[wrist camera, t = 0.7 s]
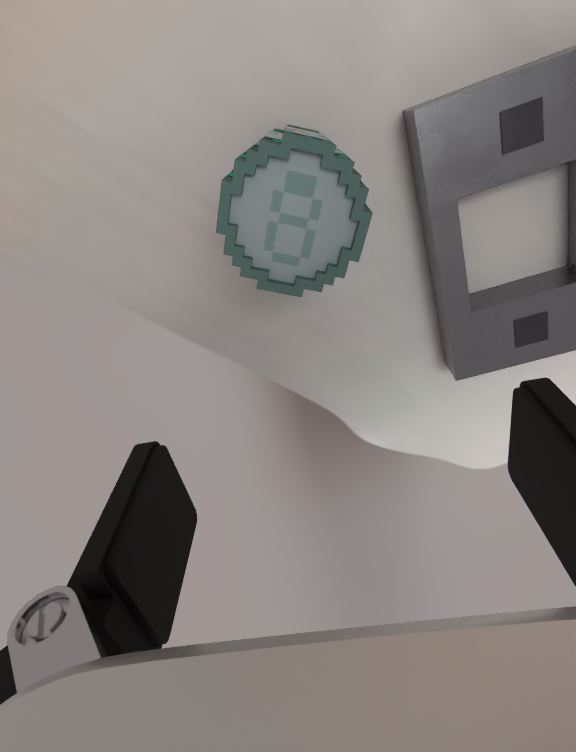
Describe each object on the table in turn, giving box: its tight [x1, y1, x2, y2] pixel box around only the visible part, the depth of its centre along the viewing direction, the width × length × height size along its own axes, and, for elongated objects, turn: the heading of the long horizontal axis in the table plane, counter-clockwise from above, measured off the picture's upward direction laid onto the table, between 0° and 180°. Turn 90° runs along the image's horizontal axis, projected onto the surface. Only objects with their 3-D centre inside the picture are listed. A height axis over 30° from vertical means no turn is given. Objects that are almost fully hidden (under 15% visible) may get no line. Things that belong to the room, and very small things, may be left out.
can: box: [216, 125, 372, 297], centre depth 24 cm, size 6×6×15 cm
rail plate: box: [403, 46, 576, 381], centre depth 31 cm, size 12×20×3 cm, turn 19°
